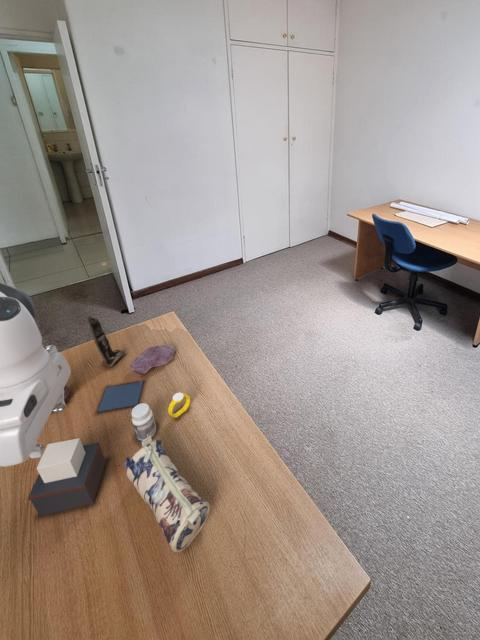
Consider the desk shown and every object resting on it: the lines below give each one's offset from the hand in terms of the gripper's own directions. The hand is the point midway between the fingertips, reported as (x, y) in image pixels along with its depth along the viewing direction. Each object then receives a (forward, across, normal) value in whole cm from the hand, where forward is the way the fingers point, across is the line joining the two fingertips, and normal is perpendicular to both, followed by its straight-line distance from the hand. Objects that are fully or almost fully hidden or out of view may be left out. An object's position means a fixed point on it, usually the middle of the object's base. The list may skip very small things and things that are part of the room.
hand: (49, 430), depth 64 cm
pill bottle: (+19, -10, +13) cm, 25 cm away
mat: (+19, -23, +4) cm, 30 cm away
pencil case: (+19, +8, +21) cm, 29 cm away
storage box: (+19, 0, 0) cm, 19 cm away
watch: (+19, -14, +21) cm, 31 cm away
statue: (+19, -38, -2) cm, 43 cm away
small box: (+12, 0, 0) cm, 12 cm away
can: (+19, -25, -13) cm, 34 cm away
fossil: (+19, -34, +11) cm, 40 cm away
